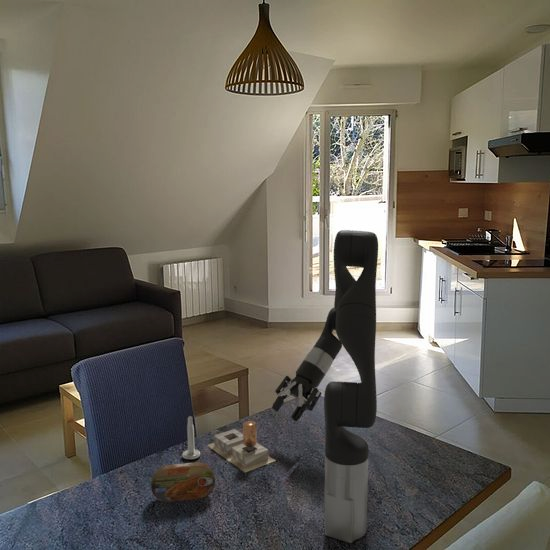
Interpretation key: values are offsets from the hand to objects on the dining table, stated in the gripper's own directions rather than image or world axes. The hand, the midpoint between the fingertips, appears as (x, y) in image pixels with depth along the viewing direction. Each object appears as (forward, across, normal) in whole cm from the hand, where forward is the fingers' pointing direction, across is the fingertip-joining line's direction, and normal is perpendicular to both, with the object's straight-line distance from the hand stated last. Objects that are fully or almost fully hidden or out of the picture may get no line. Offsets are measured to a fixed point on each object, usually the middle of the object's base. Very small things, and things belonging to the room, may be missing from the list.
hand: (283, 414), depth 156 cm
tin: (+32, +3, -16) cm, 35 cm away
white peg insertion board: (+16, -5, 0) cm, 16 cm away
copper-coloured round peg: (+15, 0, -1) cm, 15 cm away
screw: (+24, -11, -9) cm, 28 cm away
